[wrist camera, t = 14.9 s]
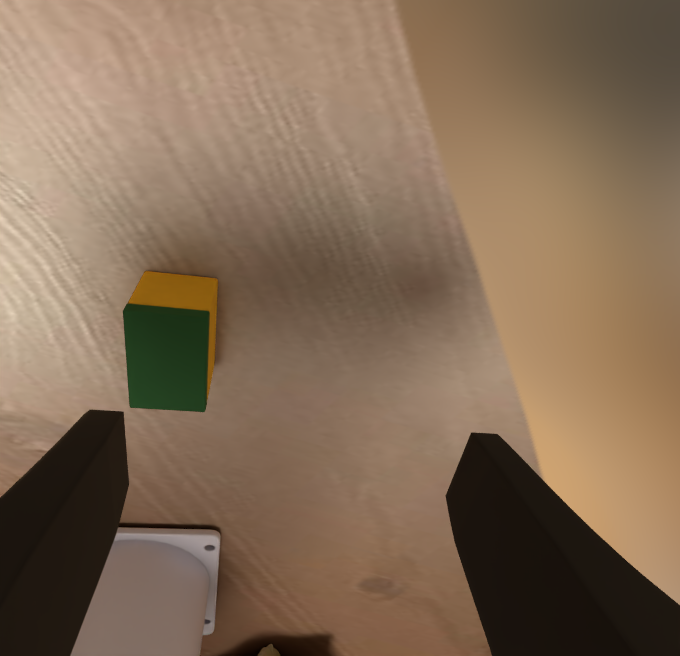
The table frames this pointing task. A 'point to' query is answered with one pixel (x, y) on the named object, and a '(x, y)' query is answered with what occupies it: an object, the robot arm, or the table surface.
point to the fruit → (269, 651)
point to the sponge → (171, 341)
